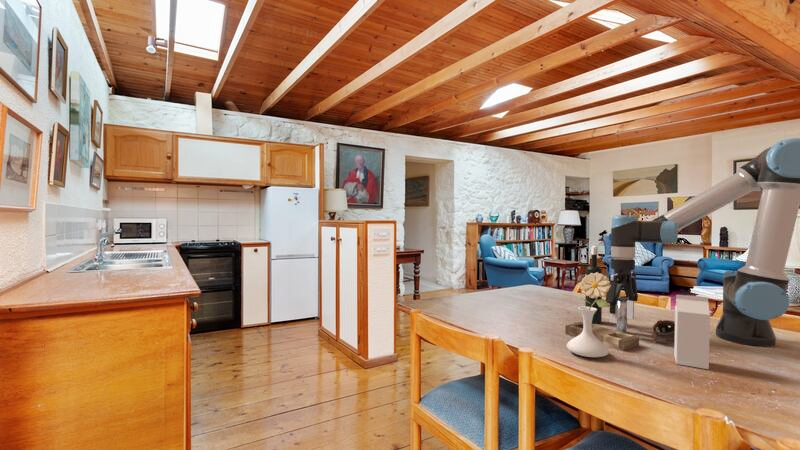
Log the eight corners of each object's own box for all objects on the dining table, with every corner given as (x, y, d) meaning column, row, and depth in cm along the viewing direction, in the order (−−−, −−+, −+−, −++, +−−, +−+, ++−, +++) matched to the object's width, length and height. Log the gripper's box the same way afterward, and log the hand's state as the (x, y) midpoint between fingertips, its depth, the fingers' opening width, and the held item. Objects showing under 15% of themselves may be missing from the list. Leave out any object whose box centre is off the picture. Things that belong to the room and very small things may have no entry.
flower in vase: (558, 350, 117) (559, 269, 117) (584, 345, 122) (586, 267, 121) (594, 365, 105) (596, 275, 105) (623, 359, 110) (624, 273, 109)
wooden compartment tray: (638, 346, 121) (639, 336, 121) (623, 351, 117) (623, 341, 117) (580, 330, 138) (580, 321, 138) (565, 334, 134) (565, 325, 134)
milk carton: (708, 370, 102) (710, 299, 102) (676, 364, 106) (677, 296, 106) (704, 361, 109) (706, 295, 108) (674, 356, 112) (675, 292, 112)
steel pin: (630, 332, 136) (631, 297, 135) (624, 334, 133) (625, 298, 133) (618, 329, 139) (619, 294, 139) (612, 331, 137) (613, 296, 137)
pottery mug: (697, 349, 120) (689, 328, 119) (667, 360, 122) (658, 339, 120) (673, 328, 132) (665, 309, 130) (646, 339, 134) (638, 320, 132)
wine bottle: (583, 319, 153) (584, 245, 152) (598, 320, 152) (599, 245, 151) (588, 323, 147) (589, 246, 146) (603, 324, 146) (605, 246, 146)
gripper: (628, 255, 145) (627, 314, 145) (594, 259, 133) (593, 322, 134) (649, 257, 139) (648, 318, 139) (616, 261, 127) (615, 327, 127)
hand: (621, 320), depth 136 cm, fingers open, 10 cm apart
